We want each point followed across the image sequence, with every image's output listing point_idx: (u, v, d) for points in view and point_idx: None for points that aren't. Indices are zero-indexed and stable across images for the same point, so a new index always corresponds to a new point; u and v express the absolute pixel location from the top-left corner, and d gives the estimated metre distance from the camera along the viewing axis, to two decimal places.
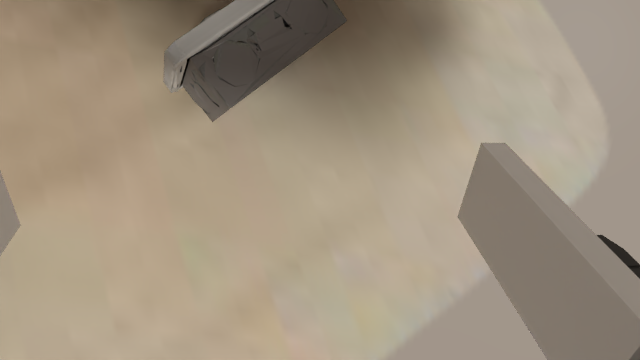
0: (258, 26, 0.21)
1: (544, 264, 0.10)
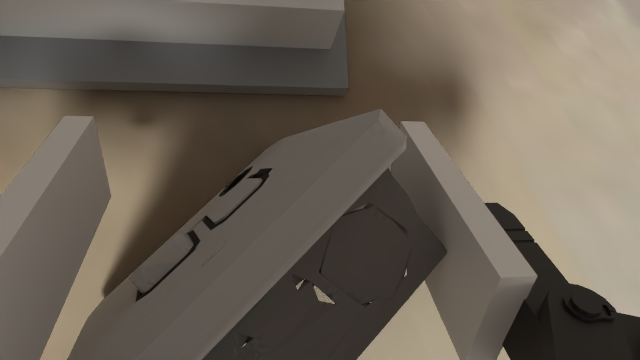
0: (259, 320, 0.09)
1: (439, 228, 0.11)
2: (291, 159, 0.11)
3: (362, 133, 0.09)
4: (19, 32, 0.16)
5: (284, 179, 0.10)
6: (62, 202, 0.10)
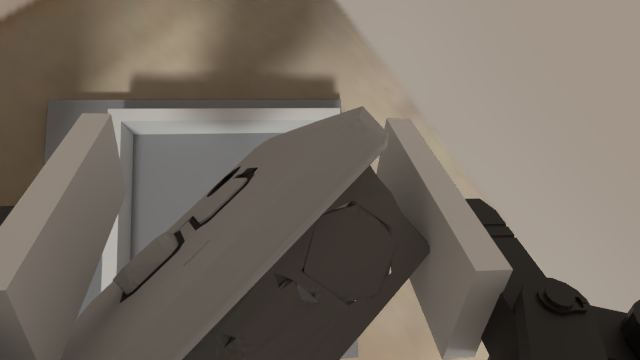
0: (242, 319, 0.09)
1: (421, 224, 0.11)
2: (275, 158, 0.11)
3: (343, 131, 0.09)
4: None
5: (267, 178, 0.10)
6: (83, 197, 0.10)
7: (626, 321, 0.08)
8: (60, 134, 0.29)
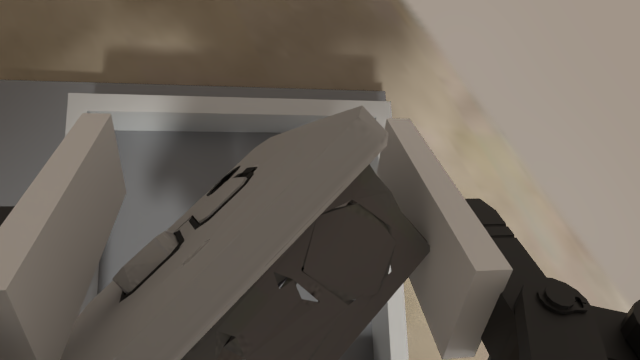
0: (241, 318, 0.09)
1: (420, 223, 0.11)
2: (275, 157, 0.11)
3: (343, 130, 0.09)
4: None
5: (266, 177, 0.10)
6: (84, 197, 0.10)
7: (625, 321, 0.08)
8: (4, 127, 0.21)
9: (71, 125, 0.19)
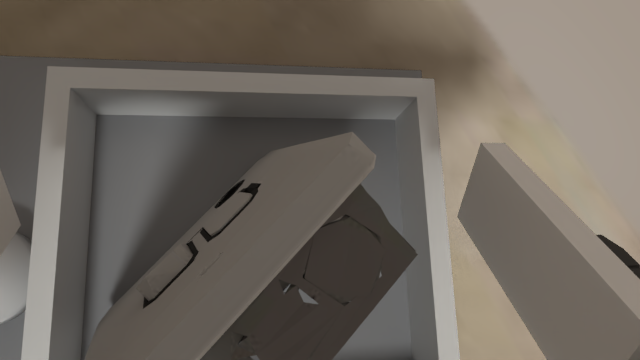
0: (252, 320, 0.10)
1: (544, 264, 0.10)
2: (277, 176, 0.13)
3: (335, 155, 0.10)
4: None
5: (270, 196, 0.11)
6: None
7: None
8: None
9: (50, 105, 0.15)
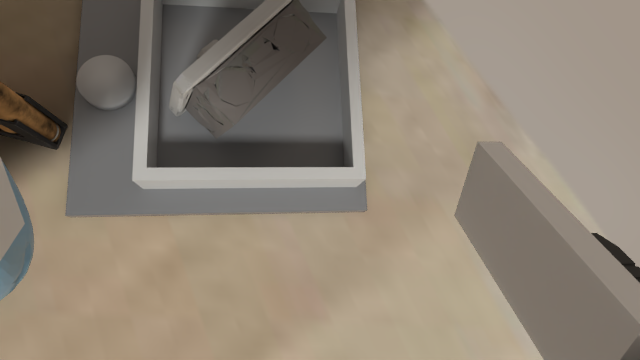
0: (250, 51, 0.24)
1: (539, 262, 0.10)
2: None
3: None
4: (189, 187, 0.30)
5: None
6: None
7: None
8: None
9: None
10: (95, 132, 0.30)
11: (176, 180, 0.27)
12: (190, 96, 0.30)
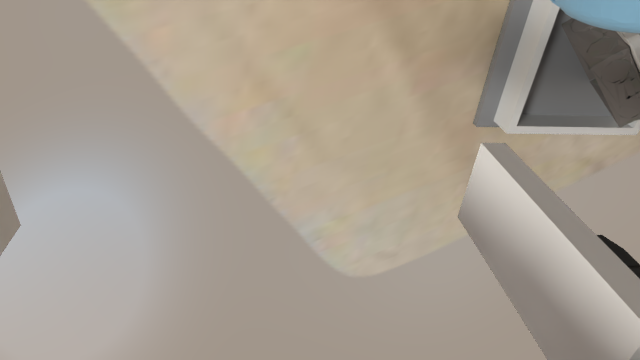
0: (634, 82, 0.36)
1: (544, 264, 0.10)
2: None
3: None
4: (534, 3, 0.39)
5: None
6: None
7: None
8: None
9: None
10: None
11: (551, 4, 0.37)
12: None
